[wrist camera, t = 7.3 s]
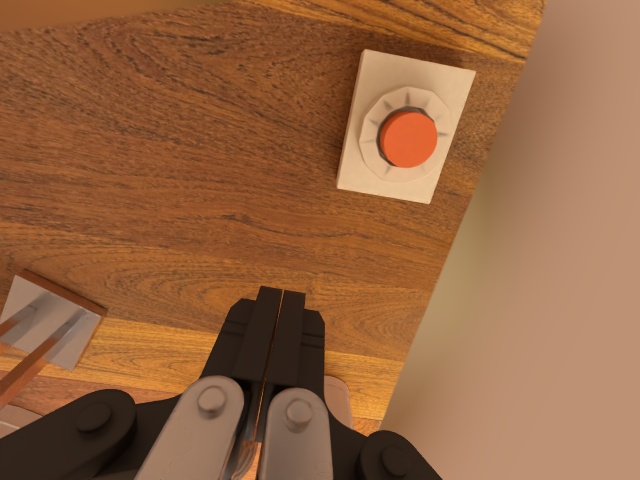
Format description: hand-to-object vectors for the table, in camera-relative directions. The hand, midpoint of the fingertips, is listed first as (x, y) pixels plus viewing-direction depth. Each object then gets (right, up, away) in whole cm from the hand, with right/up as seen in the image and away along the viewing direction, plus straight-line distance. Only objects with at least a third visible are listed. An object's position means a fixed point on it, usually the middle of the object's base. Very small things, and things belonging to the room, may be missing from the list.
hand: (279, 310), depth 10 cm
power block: (+8, +11, +15) cm, 20 cm away
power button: (+7, +10, +12) cm, 17 cm away
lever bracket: (-29, -7, +25) cm, 39 cm away
